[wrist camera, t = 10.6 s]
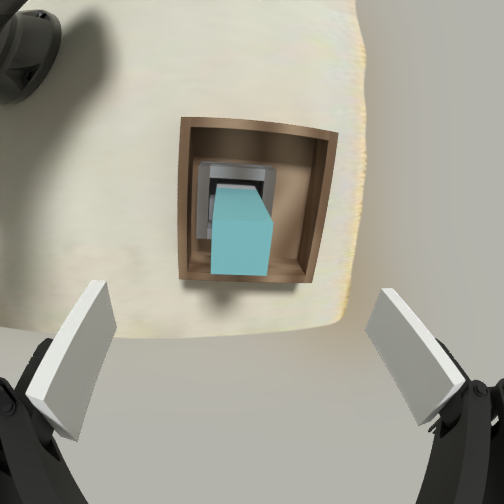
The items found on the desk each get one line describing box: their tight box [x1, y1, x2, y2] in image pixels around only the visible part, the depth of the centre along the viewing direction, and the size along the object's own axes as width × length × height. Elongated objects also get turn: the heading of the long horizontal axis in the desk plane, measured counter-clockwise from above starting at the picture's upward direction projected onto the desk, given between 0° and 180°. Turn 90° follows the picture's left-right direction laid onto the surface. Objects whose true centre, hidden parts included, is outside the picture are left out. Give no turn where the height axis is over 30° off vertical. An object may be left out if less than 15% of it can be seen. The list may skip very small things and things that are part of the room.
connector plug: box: [211, 180, 274, 276], centre depth 25 cm, size 4×4×14 cm
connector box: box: [178, 117, 338, 283], centre depth 30 cm, size 16×18×5 cm
